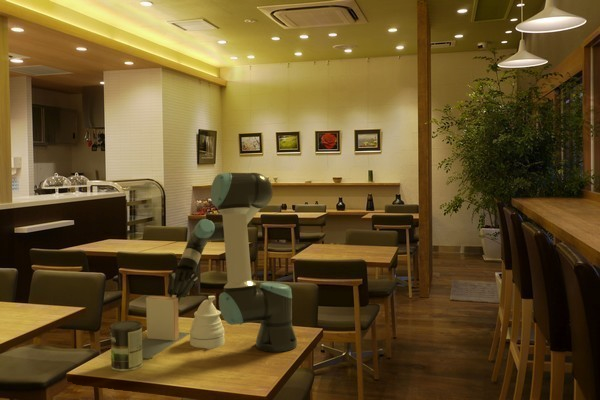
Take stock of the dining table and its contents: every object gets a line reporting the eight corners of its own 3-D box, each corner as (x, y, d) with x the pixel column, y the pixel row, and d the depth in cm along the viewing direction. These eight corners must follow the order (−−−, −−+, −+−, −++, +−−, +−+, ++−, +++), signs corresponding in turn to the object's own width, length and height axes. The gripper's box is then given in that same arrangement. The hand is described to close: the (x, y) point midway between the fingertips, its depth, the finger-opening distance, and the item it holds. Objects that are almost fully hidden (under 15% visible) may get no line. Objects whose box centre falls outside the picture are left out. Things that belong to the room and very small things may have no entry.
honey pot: (228, 338, 216) (227, 292, 215) (220, 349, 203) (219, 300, 202) (195, 337, 217) (194, 292, 216) (185, 348, 205) (184, 300, 204)
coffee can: (112, 373, 181) (111, 330, 180) (109, 363, 190) (108, 322, 189) (145, 368, 185) (144, 326, 184) (141, 358, 194) (140, 319, 193)
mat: (149, 359, 193) (149, 358, 193) (114, 356, 197) (114, 354, 197) (190, 334, 222) (190, 333, 222) (159, 331, 226) (159, 330, 226)
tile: (151, 336, 218) (150, 295, 217) (178, 338, 215) (177, 297, 214) (146, 338, 215) (145, 297, 214) (174, 341, 212) (173, 299, 211)
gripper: (206, 267, 236) (188, 316, 221) (178, 266, 240) (159, 314, 225) (200, 257, 231) (181, 307, 216) (172, 256, 234) (151, 304, 219)
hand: (170, 310), depth 220 cm, fingers closed
